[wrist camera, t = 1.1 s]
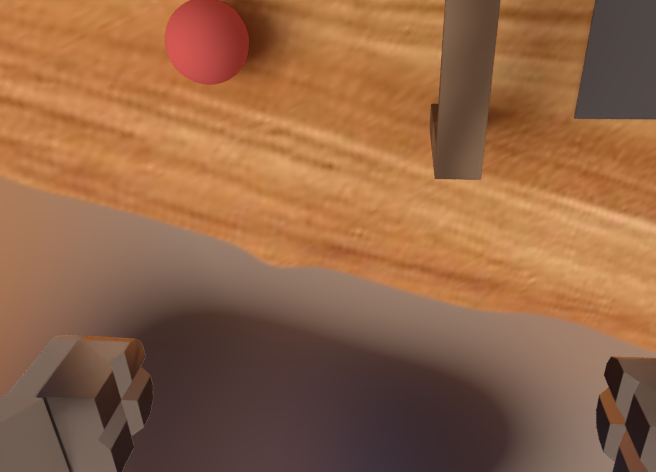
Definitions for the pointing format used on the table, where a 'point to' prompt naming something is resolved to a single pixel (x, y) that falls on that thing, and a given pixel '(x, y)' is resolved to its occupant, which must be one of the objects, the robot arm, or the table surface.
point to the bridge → (464, 88)
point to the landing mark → (620, 62)
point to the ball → (207, 41)
